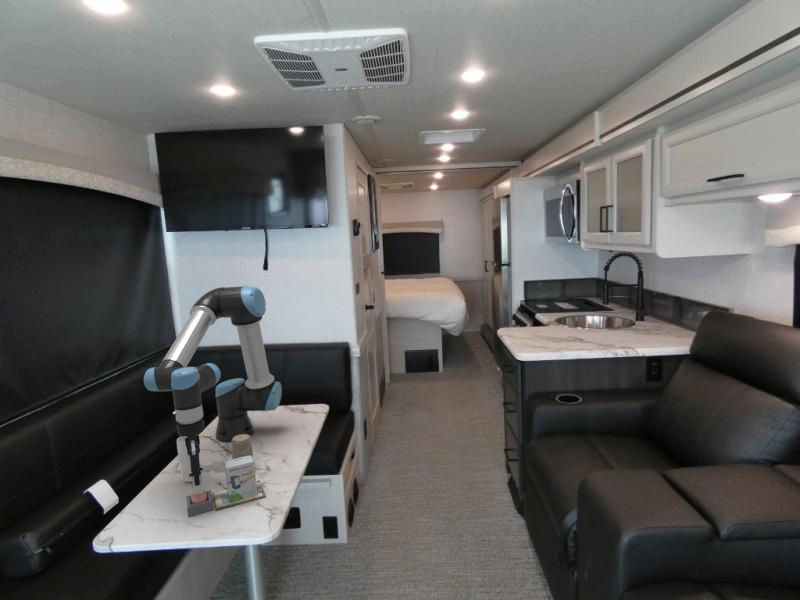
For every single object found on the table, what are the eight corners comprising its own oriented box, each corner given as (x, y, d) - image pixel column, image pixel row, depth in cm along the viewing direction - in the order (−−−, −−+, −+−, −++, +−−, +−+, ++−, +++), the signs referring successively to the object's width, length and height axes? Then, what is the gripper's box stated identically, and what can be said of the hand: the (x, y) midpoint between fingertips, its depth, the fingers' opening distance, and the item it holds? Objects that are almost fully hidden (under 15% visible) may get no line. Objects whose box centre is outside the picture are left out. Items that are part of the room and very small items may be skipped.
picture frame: (212, 494, 152) (212, 490, 152) (259, 481, 158) (259, 478, 158) (215, 511, 142) (215, 507, 142) (265, 497, 148) (265, 493, 148)
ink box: (255, 488, 153) (251, 454, 151) (258, 495, 148) (254, 460, 146) (227, 495, 149) (223, 460, 147) (229, 503, 144) (225, 467, 143)
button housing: (187, 505, 146) (186, 496, 145) (211, 499, 149) (210, 490, 148) (188, 516, 140) (187, 507, 139) (213, 510, 143) (212, 500, 142)
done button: (192, 504, 145) (190, 492, 145) (207, 500, 147) (205, 488, 147) (192, 511, 141) (191, 499, 141) (208, 507, 143) (206, 495, 143)
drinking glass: (206, 475, 164) (202, 434, 162) (192, 485, 158) (187, 443, 156) (191, 473, 167) (186, 432, 165) (176, 482, 160) (171, 441, 158)
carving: (258, 465, 170) (255, 433, 168) (243, 475, 163) (239, 442, 162) (244, 462, 173) (241, 431, 171) (229, 472, 166) (226, 440, 164)
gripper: (175, 415, 145) (184, 487, 148) (176, 429, 133) (185, 507, 136) (202, 410, 148) (209, 480, 151) (204, 424, 136) (213, 500, 139)
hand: (198, 493), depth 144 cm, fingers closed
